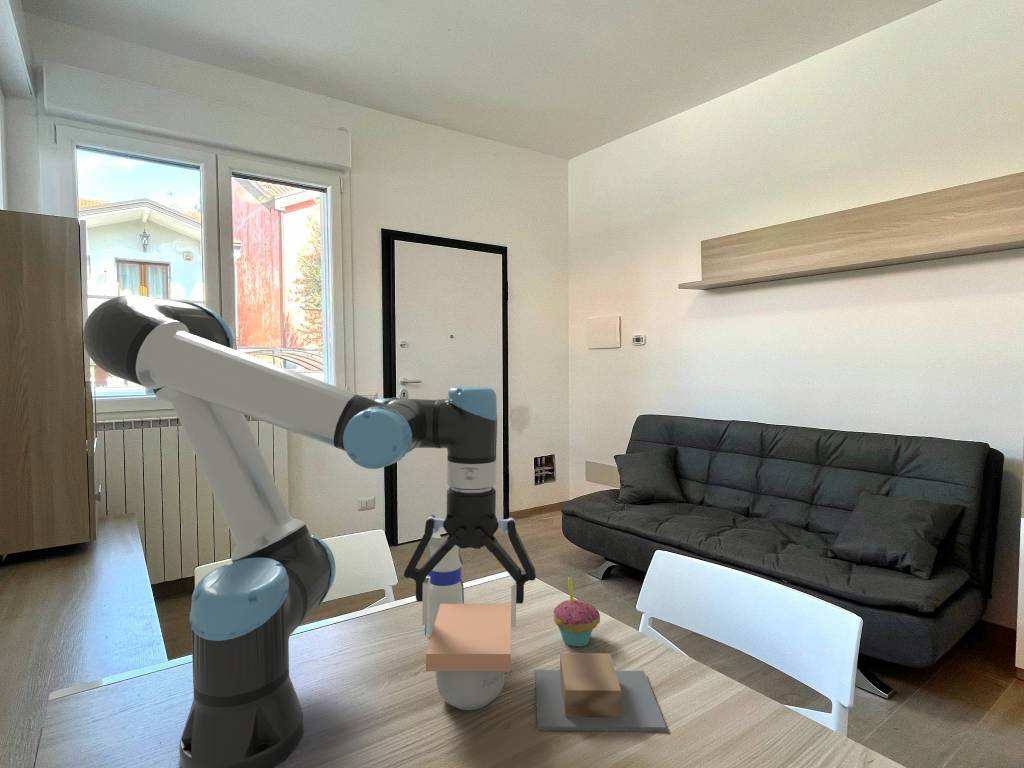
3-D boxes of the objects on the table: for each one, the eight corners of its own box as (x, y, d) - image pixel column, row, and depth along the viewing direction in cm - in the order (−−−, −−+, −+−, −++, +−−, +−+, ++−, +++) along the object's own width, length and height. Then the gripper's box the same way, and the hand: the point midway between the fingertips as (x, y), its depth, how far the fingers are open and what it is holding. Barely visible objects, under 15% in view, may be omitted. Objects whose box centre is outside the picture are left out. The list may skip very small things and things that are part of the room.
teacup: (495, 725, 79) (495, 670, 79) (423, 715, 81) (423, 662, 81) (514, 671, 93) (514, 624, 92) (452, 664, 95) (452, 618, 95)
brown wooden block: (565, 717, 80) (565, 690, 80) (560, 677, 90) (560, 653, 90) (620, 717, 80) (621, 690, 80) (609, 677, 90) (609, 653, 90)
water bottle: (422, 621, 110) (421, 497, 109) (465, 619, 111) (465, 496, 110) (419, 643, 102) (418, 508, 101) (466, 640, 103) (466, 507, 101)
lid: (425, 671, 79) (425, 653, 79) (440, 618, 95) (440, 603, 95) (510, 671, 79) (510, 654, 79) (510, 618, 95) (510, 603, 95)
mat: (537, 730, 78) (537, 726, 78) (534, 673, 92) (534, 670, 92) (666, 731, 78) (666, 727, 78) (643, 674, 92) (643, 670, 92)
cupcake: (543, 639, 103) (544, 575, 103) (574, 624, 109) (574, 564, 108) (578, 657, 97) (579, 590, 96) (609, 641, 103) (609, 577, 102)
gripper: (384, 491, 82) (384, 631, 83) (554, 494, 82) (551, 635, 83) (396, 480, 90) (395, 609, 91) (551, 483, 89) (548, 612, 90)
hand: (469, 622), depth 87 cm, fingers open, 13 cm apart
